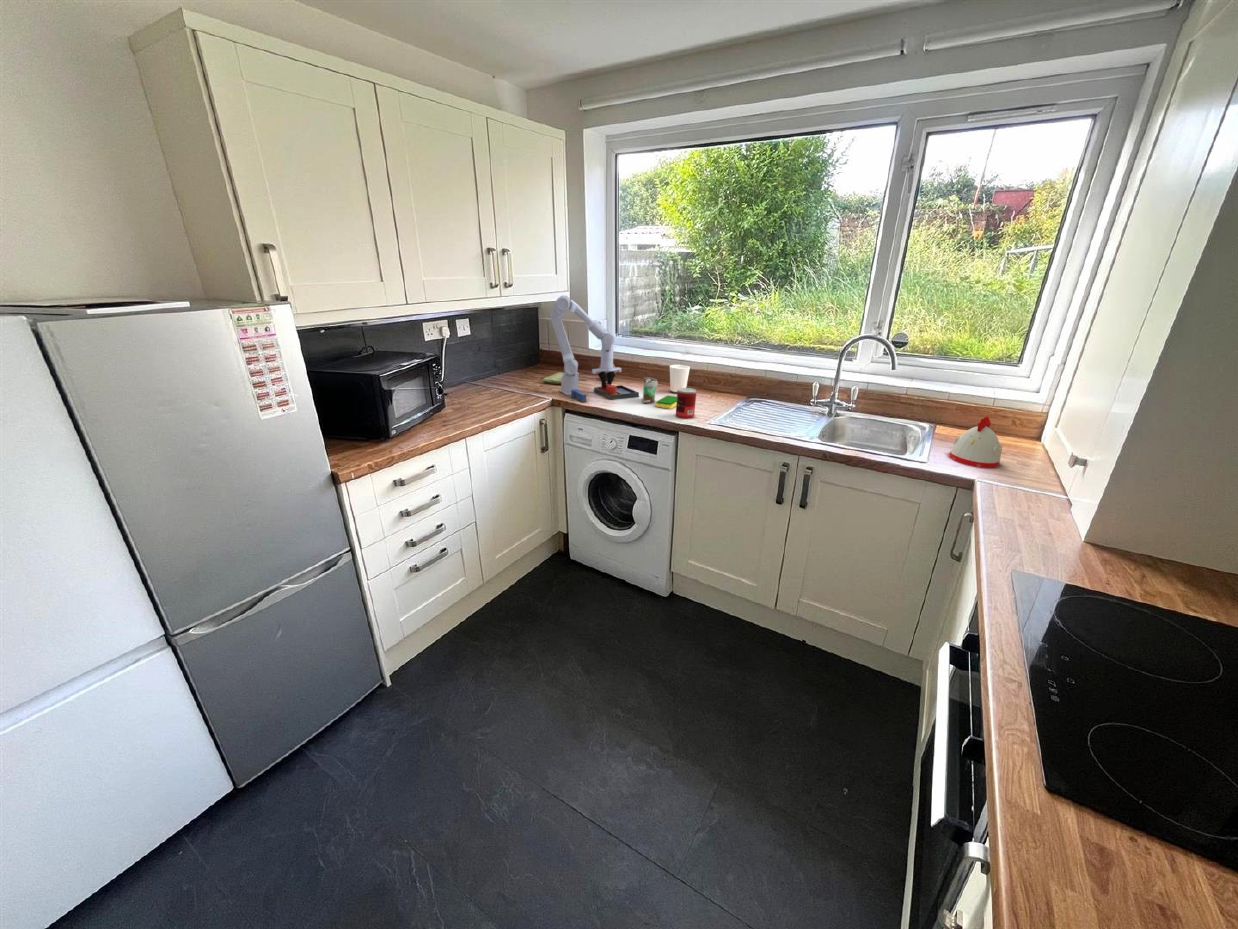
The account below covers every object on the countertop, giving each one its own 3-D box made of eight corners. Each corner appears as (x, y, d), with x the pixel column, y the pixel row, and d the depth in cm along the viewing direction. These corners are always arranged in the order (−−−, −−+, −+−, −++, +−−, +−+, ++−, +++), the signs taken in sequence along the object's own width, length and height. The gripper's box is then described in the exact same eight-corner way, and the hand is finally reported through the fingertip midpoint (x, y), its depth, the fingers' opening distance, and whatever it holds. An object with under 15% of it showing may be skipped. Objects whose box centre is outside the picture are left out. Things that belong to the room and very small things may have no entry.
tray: (610, 399, 228) (610, 395, 227) (594, 391, 242) (594, 387, 241) (638, 396, 235) (639, 392, 234) (621, 389, 249) (621, 385, 248)
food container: (657, 405, 222) (658, 382, 218) (643, 404, 222) (644, 382, 218) (656, 398, 233) (657, 377, 230) (642, 397, 233) (644, 376, 230)
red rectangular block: (609, 394, 231) (610, 387, 230) (598, 389, 240) (599, 382, 239) (618, 393, 233) (618, 386, 232) (607, 388, 242) (607, 381, 241)
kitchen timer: (941, 457, 169) (954, 414, 163) (959, 450, 176) (972, 409, 171) (988, 470, 158) (1003, 425, 153) (1005, 462, 166) (1020, 419, 160)
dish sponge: (655, 406, 219) (656, 401, 218) (666, 400, 231) (667, 395, 230) (670, 409, 216) (671, 403, 215) (681, 402, 228) (681, 397, 227)
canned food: (695, 414, 209) (698, 388, 205) (692, 419, 202) (694, 392, 198) (677, 412, 211) (679, 386, 207) (673, 417, 204) (675, 390, 200)
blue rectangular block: (578, 395, 233) (578, 388, 232) (588, 401, 224) (588, 394, 222) (569, 396, 231) (569, 389, 230) (579, 402, 222) (579, 395, 220)
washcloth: (541, 383, 256) (541, 376, 255) (559, 377, 271) (559, 371, 270) (563, 386, 251) (563, 380, 250) (580, 380, 266) (580, 374, 264)
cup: (691, 391, 248) (693, 366, 244) (682, 395, 241) (684, 369, 236) (673, 388, 253) (675, 363, 249) (664, 392, 245) (666, 366, 241)
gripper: (596, 361, 226) (596, 390, 231) (624, 359, 233) (623, 388, 238) (590, 358, 232) (589, 387, 237) (617, 357, 239) (616, 385, 244)
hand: (606, 387), depth 238 cm, fingers closed on red rectangular block, 2 cm apart
